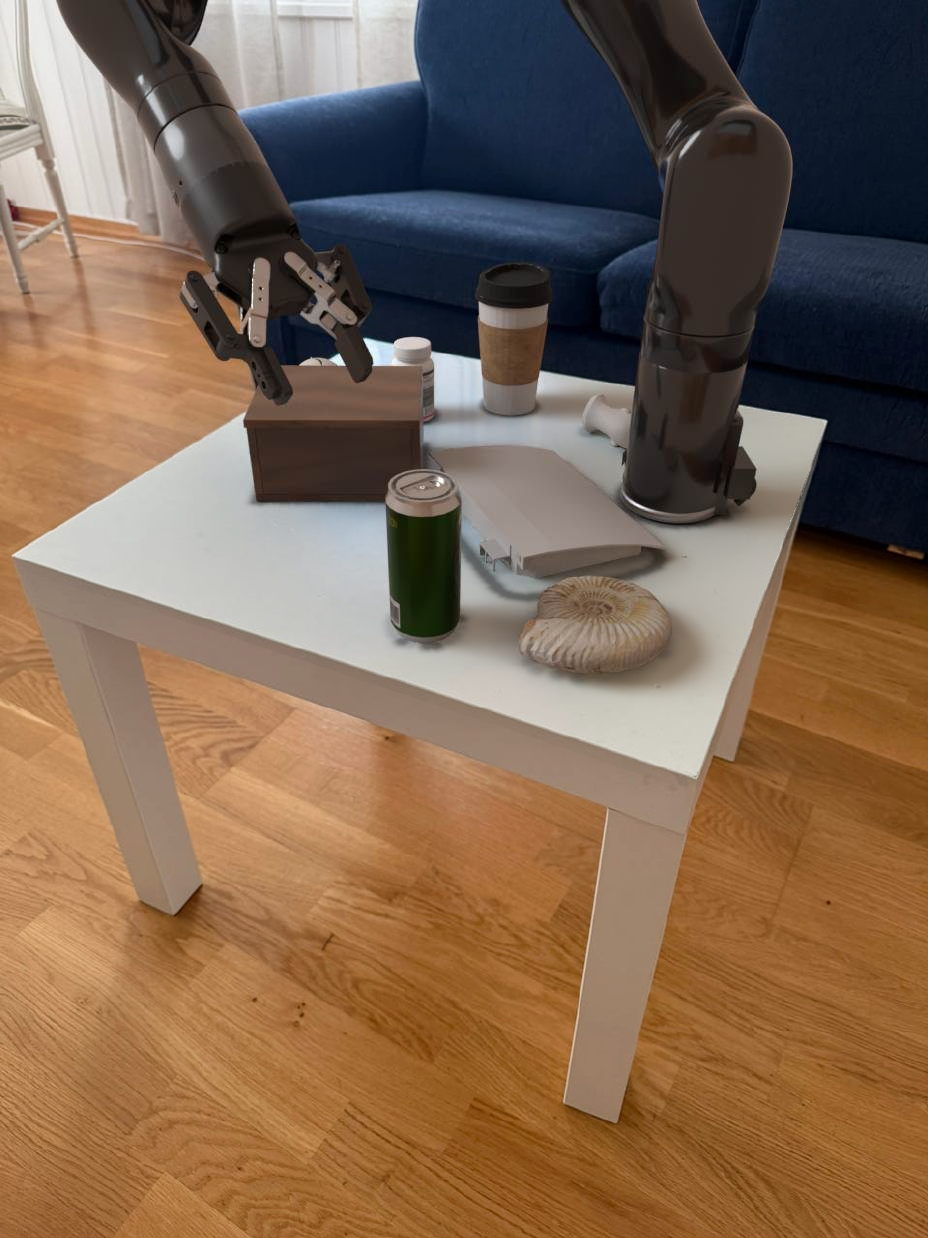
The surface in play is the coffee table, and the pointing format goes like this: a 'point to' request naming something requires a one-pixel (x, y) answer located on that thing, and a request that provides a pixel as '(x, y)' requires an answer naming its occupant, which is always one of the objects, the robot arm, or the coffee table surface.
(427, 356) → the pill bottle
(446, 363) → the coffee table surface
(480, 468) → the white stadium model
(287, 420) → the lid
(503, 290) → the coffee cup
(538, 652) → the fossil
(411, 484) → the beer can
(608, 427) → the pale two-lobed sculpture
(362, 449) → the chest
